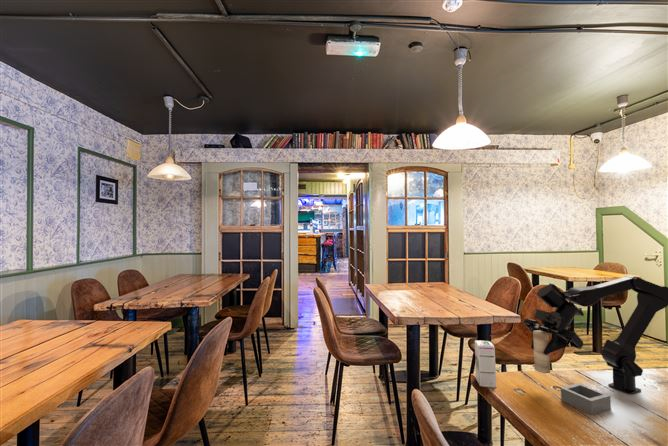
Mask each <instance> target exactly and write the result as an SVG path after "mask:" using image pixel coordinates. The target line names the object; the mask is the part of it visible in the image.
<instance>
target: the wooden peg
mask: <svg viewBox="0 0 668 446" xmlns="http://www.w3.org/2000/svg"><path fill="white" fill-rule="evenodd" d="M532 339H533V341H534V350H533V360H534V361H533V362H534V363H533V365H534V366H533V367H534V370H535V372H538V373H541V374H550V373H551V365H550V364H551V363H550V361H551V360H550V357H551V355H550V353H549V354H547V355H545V354H544V353H543V352H544V350H545V348H546V347H547V345H548V343H549V342H550V334H549V333H548V332H545V331H540V330H535V331H533V333H532Z"/></svg>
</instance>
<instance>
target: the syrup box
mask: <svg viewBox="0 0 668 446" xmlns="http://www.w3.org/2000/svg"><path fill="white" fill-rule="evenodd" d="M495 347H496V346H494V344H493V343H492V342H491V341H490V340H481V339H480V340H474V356H475V357H474V358H475V360H474V361H475V380H476V382H477V383H478V385H479V387H485V388H494V389H495V388H496V389H497V371H496V370H497V369H496V354H495V353H496V349H495Z"/></svg>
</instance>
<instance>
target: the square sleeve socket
mask: <svg viewBox="0 0 668 446" xmlns="http://www.w3.org/2000/svg"><path fill="white" fill-rule="evenodd" d="M560 400H561V401H562V402H564V403H566V404H568V405H570V406H573V407H574V408H577V409H578V410H581V411H583V412H585V413H587V414H589V415H593V416H594V415H596V414H599V413H603V412H606V411H609V410H612V408H611V407H612V404H611V403H612V402H611V395H610V394H607V393H604V392H602V391H599V390H597V389H595V388H592V387H589V386H587V385H584V384H582V383H580V382H577V383H575V384H574V383H573V384H570V385H565V386H562V387H560Z"/></svg>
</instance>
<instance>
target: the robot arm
mask: <svg viewBox="0 0 668 446" xmlns="http://www.w3.org/2000/svg"><path fill="white" fill-rule="evenodd" d="M630 290H632V291H633V292H635V293H637V294H636V300H637V305H636V307H635V309H634V310H633V312H632V313H631V315H630V317H629V318H628V320H627V322H626V323H625V325H624V326H623V328H622V329H621V332H620V333H619V335H618V336H617V338H615V339H614V340H611V339H606V340H605V342H604V344H603V346H602V347H601V352H600V354H601V357H602V359H603V360H604V361H605V363H606V365H607V366H608V367H611V368H612V383H608V384H607V386H609V387H611V388H614V389H616V390H618V391H621V392H624V393H627V394H629V395H631V394H635V393H639V392H642V389H641V388H639V387H636V378H637V377H642V375H643V371H644V369H643V368H642V367H640V366H639V365H638V364H637V363H636V362H635V361H636V359H637V352H636V347H637V345H638V343H639V341H640V340H641V338H642V337H643V335H644V333H645V332H646V329H647V328H648V326H649V325H650V323H651V322H652V320H653V319H654V317H655V316H656V314H657V312H659V311H662V310H663V309H665V308H667V307H668V287H667V286H664V285H659V284H656V283H653V282H651V281H647V280H646V279H643V278H641V277H640V276H633V275H624V276H622V277H619V278H616V279H612V280H609V281H606V282H602V283H598V284H595V285H591V286H576V287H570V288H569V289H567V290H565V291H561V290H560V288H558V287H557V285H556V284H554V283H549V284H548V285H545V286H543V287H541V288H539V289H538V291H537V292H536V296H537V297H538V298H539V299H540V300H541V301H542V302H544V303H545V305H547V306H548V307H549V308H554V310H553V311H549V312H548V311H545V310H542V309H535V312H534V316H533V318H534V319H532V318H526V319H525V320H524V321H523V322H522V323H523V325H524V326H525V327H526V328H527V329H528V330H529V331H530V332H531V333H532V334H533V331H535V330H540V331H545V332H548V333H549V335H550V336H551V339H549V343H548V345H547V347H546V348H545V350H544V352H543V353H544V354H545V355H547V354H549V355H550V354H552V353H554V352H556V351H559V350H562V349H564V348H570V347H573V348H576V349H578V350H581V349H582V348H583V346H584V340H583V339H582V338H581V337H580V336H579V335H578V334H577V333H576V331H573V330H569V329H571V328H572V326H573V325H572V324H571V323H572V321H573V320H574V319H575V317H576V316H577V317H578V316H579V317H584V316H585V314H584V311H583V310H582V309H583V308H581V307H586V308H587V307H590V306H593V305H595V304H596V303H598V302H599V301H600V300H601V299H603V298H606V297H609V296H613V295H616V294H619V293H623V292H628V291H630ZM576 305H578V306H581V307H577V306H576ZM535 319H536V320H535ZM538 320H539V321H540V323H541V324H542V325H541V324H540V323H539V321H538ZM530 349H531V350H533V351H534V341H533V338H532V341H531V346H530Z"/></svg>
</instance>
